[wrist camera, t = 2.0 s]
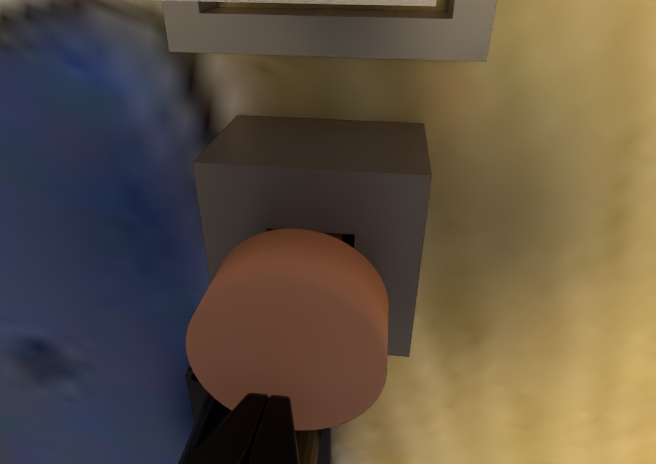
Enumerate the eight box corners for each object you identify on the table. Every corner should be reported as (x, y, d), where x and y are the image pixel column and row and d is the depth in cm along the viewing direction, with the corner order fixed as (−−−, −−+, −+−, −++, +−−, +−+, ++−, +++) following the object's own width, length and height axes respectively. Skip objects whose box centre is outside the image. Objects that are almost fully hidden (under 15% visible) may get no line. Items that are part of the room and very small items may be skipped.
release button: (385, 313, 15) (380, 440, 11) (248, 301, 16) (199, 419, 12) (395, 186, 13) (394, 289, 9) (237, 177, 14) (171, 271, 10)
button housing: (406, 279, 18) (408, 356, 15) (250, 267, 19) (218, 339, 15) (424, 124, 15) (431, 175, 12) (236, 115, 16) (192, 162, 12)
